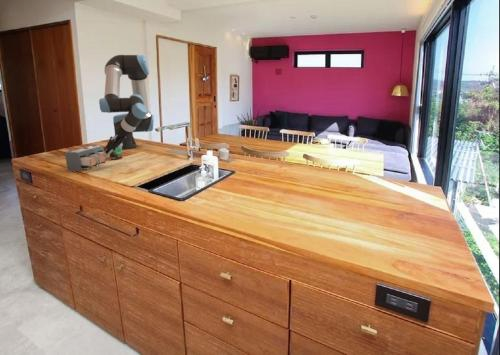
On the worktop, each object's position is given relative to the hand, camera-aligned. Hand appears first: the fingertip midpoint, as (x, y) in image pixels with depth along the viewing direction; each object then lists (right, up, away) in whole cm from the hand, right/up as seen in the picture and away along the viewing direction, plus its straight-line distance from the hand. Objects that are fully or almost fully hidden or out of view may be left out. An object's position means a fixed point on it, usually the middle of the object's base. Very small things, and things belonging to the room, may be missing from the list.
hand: (104, 156), depth 186 cm
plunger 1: (-4, -5, -11) cm, 13 cm away
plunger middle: (-2, -3, -5) cm, 7 cm away
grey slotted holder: (-9, -6, -2) cm, 11 cm away
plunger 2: (-5, -1, +2) cm, 5 cm away
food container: (+2, -1, +15) cm, 16 cm away
